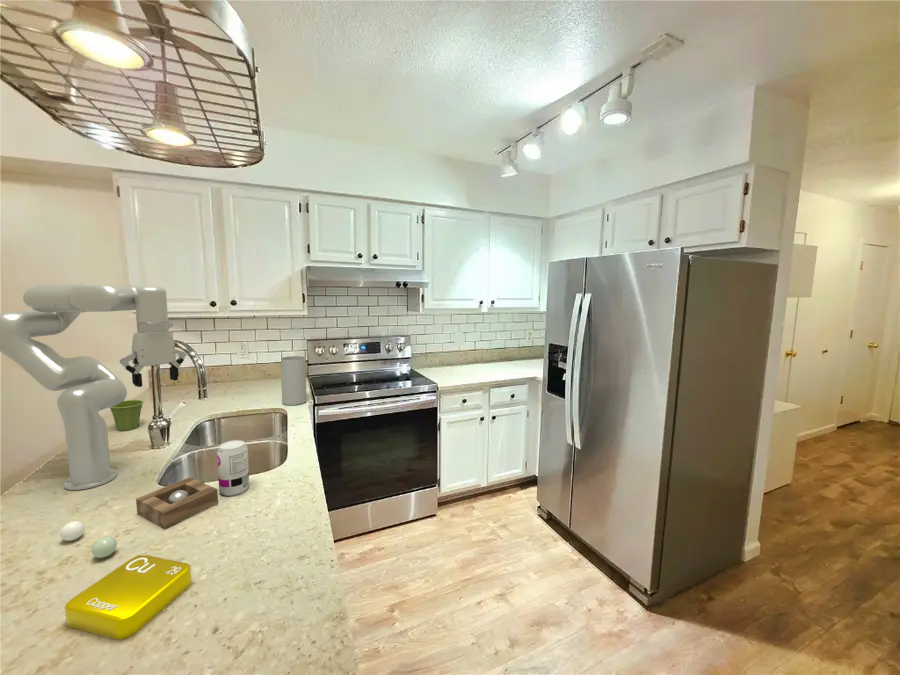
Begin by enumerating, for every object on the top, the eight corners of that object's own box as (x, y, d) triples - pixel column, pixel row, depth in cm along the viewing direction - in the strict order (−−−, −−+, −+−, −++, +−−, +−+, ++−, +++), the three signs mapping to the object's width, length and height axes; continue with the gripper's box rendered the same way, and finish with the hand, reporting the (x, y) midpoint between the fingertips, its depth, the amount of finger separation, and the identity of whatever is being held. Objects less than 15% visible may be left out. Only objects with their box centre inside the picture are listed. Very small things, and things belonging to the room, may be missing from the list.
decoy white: (57, 541, 94) (55, 524, 93) (80, 531, 98) (79, 515, 97) (65, 547, 92) (63, 530, 91) (88, 536, 96) (87, 520, 95)
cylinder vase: (276, 404, 206) (275, 359, 203) (292, 398, 218) (291, 355, 215) (296, 407, 202) (295, 361, 199) (311, 400, 214) (310, 357, 211)
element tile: (60, 627, 71) (58, 604, 71) (140, 570, 86) (138, 550, 85) (125, 643, 68) (123, 620, 68) (196, 582, 83) (195, 561, 82)
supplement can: (215, 498, 114) (213, 451, 112) (223, 484, 122) (221, 440, 120) (245, 495, 116) (243, 448, 115) (251, 482, 124) (250, 438, 122)
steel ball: (162, 508, 108) (162, 492, 106) (183, 499, 112) (183, 483, 111) (173, 517, 105) (173, 501, 104) (194, 507, 110) (194, 491, 109)
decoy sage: (88, 558, 88) (87, 540, 88) (112, 547, 92) (110, 530, 92) (97, 565, 86) (96, 547, 86) (121, 553, 90) (119, 536, 90)
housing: (137, 513, 106) (135, 498, 105) (190, 490, 118) (189, 477, 118) (164, 529, 99) (163, 513, 99) (218, 503, 112) (217, 489, 111)
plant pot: (130, 433, 160) (128, 408, 159) (102, 432, 161) (100, 407, 159) (152, 424, 172) (150, 400, 171) (126, 423, 172) (124, 399, 171)
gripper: (177, 325, 124) (180, 376, 126) (111, 329, 109) (116, 387, 111) (190, 326, 121) (193, 379, 123) (124, 331, 106) (129, 391, 108)
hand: (156, 382), depth 117 cm, fingers open, 9 cm apart
